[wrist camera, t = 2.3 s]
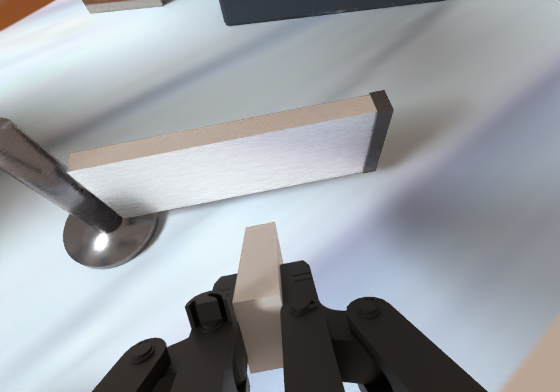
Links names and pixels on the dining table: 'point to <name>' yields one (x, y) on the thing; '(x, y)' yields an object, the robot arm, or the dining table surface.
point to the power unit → (297, 8)
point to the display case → (119, 5)
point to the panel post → (75, 204)
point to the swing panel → (236, 156)
